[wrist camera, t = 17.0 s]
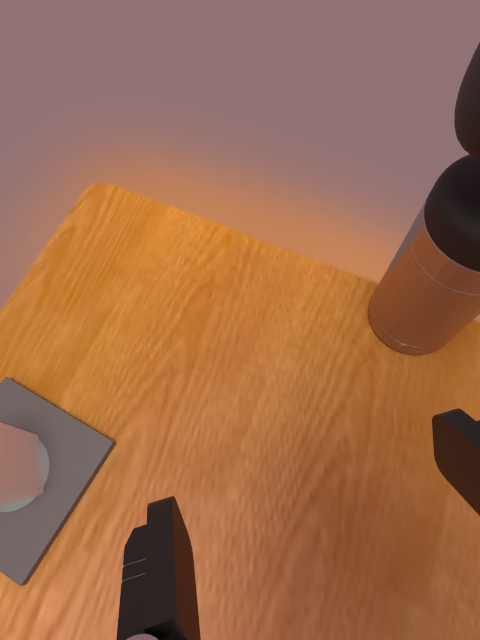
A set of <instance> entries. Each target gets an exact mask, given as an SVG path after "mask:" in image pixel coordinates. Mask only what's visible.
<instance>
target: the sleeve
mask: <svg viewBox="0 0 480 640" xmlns="http://www.w3.org/2000/svg"><path fill="white" fill-rule="evenodd" d="M40 494H44V488H43V478H42V468H41V458H40V448H39V438H38V435H36V434H33V433H30V432H27V431H24V430H21V429H18V428H15V427H12V426H9V425H6V424H3V423H0V507H1V506H4V505H8V504H11V503H14V502H17V501H21V500H24V499H27V498H31V497H34V496H37V495H40Z"/></svg>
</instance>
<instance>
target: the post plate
mask: <svg viewBox="0 0 480 640" xmlns="http://www.w3.org/2000/svg"><path fill="white" fill-rule="evenodd" d="M0 423H3V424H6V425H9V426H12V427H15V428H18V429H21V430H24V431H27V432H30V433H33V434H36V435H38V438H39V448H40V458H41V468H42V478H43V488H44V494H40V495H37V496H34V497H31V498H27V499H24V500H21V501H17V502H14V503H11V504H8V505H4V506H1V507H0V571H1V572H2V573H3V574H5V575H6V576H8V577H9V578H10V579H12V580H13V581H14V582H16V583H17V584H18V585H20V586H22V585H25V584H27V582H28V580H29V579H30V577H31V576H32V574H33V573H34V571H35V570H36V568H37V566H38V565H39V563H40V562H41V560H42V559H43V557H44V555H45V554H46V552H47V551H48V549H49V548H50V546H51V544H52V543H53V541H54V540H55V538H56V537H57V535H58V533H59V532H60V530H61V529H62V527H63V526H64V524H65V523H66V521H67V519H68V518H69V516H70V515H71V513H72V512H73V510H74V508H75V507H76V505H77V504H78V502H79V501H80V499H81V497H82V496H83V494H84V493H85V491H86V490H87V488H88V486H89V485H90V483H91V482H92V480H93V479H94V477H95V476H96V474H97V472H98V471H99V469H100V468H101V466H102V465H103V463H104V461H105V460H106V458H107V457H108V455H109V454H110V452H111V450H112V449H113V447H114V446H115V444H116V443H115V442H114V441H112V440H110V439H109V438H107V437H105V436H104V435H102V434H100V433H99V432H97V431H96V430H94V429H92V428H91V427H89V426H87V425H86V424H84V423H82V422H81V421H79V420H77V419H76V418H74V417H72V416H71V415H69V414H67V413H66V412H64V411H62V410H61V409H59V408H57V407H56V406H54V405H53V404H51V403H49V402H48V401H46V400H44V399H43V398H41V397H39V396H38V395H36V394H34V393H33V392H31V391H29V390H28V389H26V388H24V387H23V386H21V385H19V384H18V383H16V382H15V381H13V380H11V379H9V378H8V377H5V378H4V379H3V381H2V382H1V383H0Z"/></svg>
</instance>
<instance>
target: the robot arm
mask: <svg viewBox="0 0 480 640" xmlns="http://www.w3.org/2000/svg"><path fill="white" fill-rule="evenodd" d="M455 131H456V135H457V139H458V141H459V142H460V144H461V146H462V147H463V148H464V150H465V151H467V152H468V153H469V154H470V155H467V156H465V157H463V158H461V159H459V160H457V161H456V162H454V163H453V164H452V165H450V166H449V167H448V168H447V169H446V170H445V171H444V172H443V173H442V174H441V176H440V177H439V178H438V180H437V181H436V183H435V185H434V187H433V188H432V190H431V192H430V194H429V196H428V198H427V199H426V201H425V203H424V205H423V207H422V208H421V210H420V212H419V214H418V215H417V217H416V219H415V221H414V223H413V225H412V227H411V228H410V230H409V232H408V234H407V235H406V237H405V239H404V241H403V243H402V244H401V246H400V248H399V250H398V252H397V253H396V255H395V257H394V259H393V261H392V262H391V264H390V266H389V268H388V269H387V271H386V273H385V275H384V277H383V278H382V280H381V282H380V283H379V285H378V287H377V289H376V291H375V292H374V294H373V296H372V298H371V300H370V303H369V308H368V315H369V320H370V324H371V326H372V328H373V330H374V332H375V333H376V335H377V336H378V337H379V339H380V340H381V341H383V342H384V343H385V344H386V345H387V346H389V347H391V348H393V349H394V350H396V351H399V352H402V353H405V354H411V355H423V354H427V353H431V352H433V351H435V350H437V349H439V348H440V347H441V346H443V345H444V344H445V343H446V342H447V341H449V340H450V339H451V338H452V337H453V336H454V335H456V334H457V333H458V332H459V331H461V330H462V329H463V328H464V327H465V326H466V325H468V324H469V323H470V322H471V321H472V320H473V319H475V318H476V317H477V316H478V315H479V314H480V43H479V45H478V47H477V49H476V51H475V53H474V55H473V57H472V59H471V62H470V64H469V66H468V69H467V71H466V73H465V76H464V78H463V81H462V83H461V86H460V90H459V93H458V97H457V102H456V107H455ZM432 428H433V443H434V457H435V461H436V464H437V466H438V468H439V470H440V472H441V473H442V475H443V476H444V477H445V478H446V479H447V480H448V482H449V483H450V484H451V485H452V486H453V487H454V488H455V489H456V490H457V491H458V493H459V494H460V495H461V496H462V497H463V498H464V499H465V500H466V501H467V502H468V503H469V505H470V506H471V507H472V508H473V509H474V510H475V511H476V512H477V513H478V514H479V516H480V420H479V421H475V420H474V419H472V418H471V417H470V416H469V415H468V414H466V413H465V412H464V411H462V410H461V409H454V410H451V411H448V412H444V413H441V414H438V415H435V416H433V418H432ZM123 565H124V568H123V573H122V584H121V596H120V607H119V618H118V630H117V640H201V639H200V627H199V616H198V605H197V594H196V582H195V571H194V560H193V552H192V546H191V542H190V538H189V535H188V532H187V529H186V526H185V524H184V521H183V518H182V515H181V513H180V510H179V507H178V504H177V502H176V499H175V497H174V496H172V497H168V498H165V499H162V500H159V501H156V502H152V503H149V504H148V507H147V525H144V526H140V527H137V528H134V529H133V531H132V533H131V535H130V537H129V539H128V541H127V543H126V545H125V550H124V561H123Z"/></svg>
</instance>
